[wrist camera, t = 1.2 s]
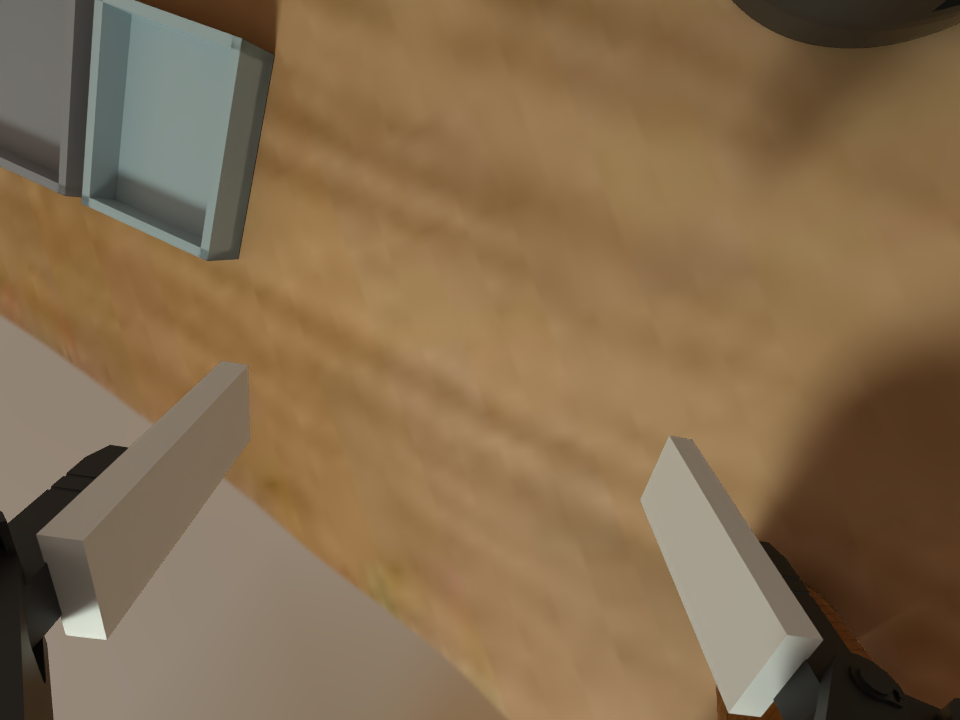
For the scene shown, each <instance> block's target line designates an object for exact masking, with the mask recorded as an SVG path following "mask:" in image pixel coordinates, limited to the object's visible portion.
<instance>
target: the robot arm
mask: <svg viewBox="0 0 960 720" xmlns="http://www.w3.org/2000/svg"><path fill="white" fill-rule="evenodd" d="M732 1H733V2H734V3H735V4H736V5H737V6H738V7H739V8H740V9H741V10H742V11H744V12H745V13H746V14H747V15H748V16H750V17H751V18H752V19H754V20H755V21H757V22H758V23H760V24H761V25H763V26H764V27H766V28H768V29H770V30H772V31H774V32H776V33H778V34H780V35H783V36H785V37H787V38H790V39H793V40H796V41H799V42H804V43H808V44H812V45H818V46H824V47H834V48H866V47H877V46H884V45H891V44H895V43H900V42H905V41H909V40H913V39H916V38H920V37H923V36H926V35H929V34H932V33H935V32H938V31H941V30H943V29H946V28H948V27H951V26H953V25H956V24H958V23H960V0H732ZM249 441H250V411H249V368H248V365H244V364H238V363H232V362H226V361H221V362H220V363H219V364H218V365H217V366H216V367H215V368H214V369H213V370H212V371H210V372H209V373H208V374H207V375H206V376H205V377H204V378H203V379H202V380H201V381H200V382H199V383H198V384H197V385H195V386H194V387H193V388H192V389H191V390H190V391H189V392H188V393H187V394H186V395H185V396H184V397H183V398H182V399H181V400H179V401H178V402H177V403H176V404H175V405H174V406H173V407H172V408H171V409H170V410H169V411H168V412H167V413H166V414H164V415H163V416H162V417H161V418H160V419H159V420H158V421H157V422H156V423H155V424H154V425H153V426H152V427H151V428H149V429H148V430H147V431H146V432H145V433H144V434H143V435H142V436H141V437H140V438H139V439H138V440H137V441H136V442H135V443H133V444H132V445H131V446H130V447H129V448H127V447H121V446H114V445H109V446H107V447H105V448H103V449H101V450H99V451H97V452H95V453H93V454H91V455H89V456H87V457H85V458H84V459H83V460H81V461H80V462H79V463H78V464H77V465H76V466H74V467H73V468H72V469H71V470H70V471H69V472H67V475H66V476H63V477H62V478H60V479H59V480H58V481H57V482H56V483H54V484H53V485H52V486H51V489H50V490H46V491H45V492H44V493H43V494H42V495H41V496H40V497H38V498H37V499H36V500H35V501H33V502H32V503H31V504H30V505H29V506H28V507H27V508H25V509H24V510H23V511H22V512H21V513H20V514H18V515H17V516H16V517H15V518H14V519H12V520H11V521H10V522H9V523H8V524H7V521H6V519H5V517H4V515H3V513H2V512H1V511H0V720H53V709H52V697H51V685H50V672H49V660H48V648H47V642H46V639H45V637H44V635H45V634H46V633H47V632H48V630H49V629H50V628H51V627H52V626H53V625H54V623H55V622H56V621H57V620H58V619H59V617H60V616H61V620H62V623H63V626H64V630H65V633H66V635H69V636H78V637H87V638H95V639H104V640H107V639H108V637H109V636H110V635H111V633H112V632H113V630H114V629H115V628H116V626H117V625H118V623H119V622H120V621H121V619H122V618H123V617H124V615H125V614H126V612H127V611H128V610H129V608H130V607H131V605H132V604H133V602H134V601H135V600H136V598H137V597H138V595H139V594H140V593H141V591H142V590H143V589H144V587H145V586H146V585H147V583H148V582H149V580H150V579H151V578H152V576H153V575H154V573H155V572H156V571H157V569H158V568H159V566H160V565H161V564H162V562H163V561H164V559H165V558H166V557H167V555H168V554H169V553H170V551H171V550H172V548H173V547H174V546H175V544H176V543H177V541H178V540H179V539H180V537H181V536H182V534H183V533H184V532H185V530H186V529H187V527H188V526H189V525H190V523H191V522H192V520H193V519H194V518H195V516H196V515H197V514H198V512H199V511H200V509H201V508H202V507H203V505H204V504H205V502H206V501H207V500H208V498H209V497H210V495H211V494H212V493H213V491H214V490H215V488H216V487H217V486H218V484H219V483H220V481H221V480H222V479H223V477H224V476H225V475H226V473H227V472H228V470H229V469H230V468H231V466H232V465H233V463H234V462H235V461H236V459H237V458H238V456H239V455H240V454H241V452H242V451H243V449H244V448H245V447H246V445H247V444H248V443H249ZM640 501H641V504H642V506H643V509H644V511H645V514H646V516H647V518H648V521H649V523H650V526H651V528H652V530H653V533H654V535H655V538H656V540H657V542H658V545H659V547H660V550H661V552H662V554H663V557H664V559H665V562H666V564H667V566H668V569H669V571H670V574H671V576H672V578H673V581H674V583H675V586H676V588H677V591H678V593H679V595H680V598H681V600H682V603H683V605H684V607H685V610H686V612H687V615H688V617H689V619H690V622H691V624H692V627H693V629H694V631H695V634H696V636H697V639H698V641H699V643H700V646H701V648H702V651H703V653H704V656H705V658H706V660H707V663H708V665H709V668H710V670H711V672H712V675H713V677H714V680H715V682H716V684H717V687H718V689H719V692H720V694H721V696H722V699H723V701H724V704H725V706H726V708H727V711H728V713H731V714H739V715H748V716H756V717H761V716H762V715H763V714H764V713H765V711H766V710H767V709H768V708H769V706H770V705H771V704H772V703H773V701H774V702H775V704H776V706H777V708H778V710H779V712H780V714H781V716H782V718H783V719H782V720H960V698H954V699H953V700H952V701H951V702H950V703H949V704H947V705H946V706H945V707H944V708H943V709H942V710H941V709H939V708H936V707H934V706H931V705H929V704H927V703H924V702H922V701H920V700H917V699H915V698H912V697H910V696H908V695H905V694H904V693H903V691H902V690H901V688H900V687H899V685H898V684H897V683H896V682H895V681H894V680H893V679H892V678H891V677H890V676H889V675H888V674H887V672H885V671H884V670H883V669H881V668H880V667H879V666H877V665H876V664H875V663H873V662H872V661H870V660H868V659H866V658H864V657H863V656H861V655H859V654H855V653H851V652H850V650H849V649H848V647H847V646H846V644H845V643H844V642H843V640H842V639H841V637H840V636H839V634H838V633H837V631H836V630H835V629H834V627H833V626H832V624H831V623H830V621H829V620H828V618H827V617H826V616H825V614H824V613H823V611H822V610H821V608H820V607H819V605H818V604H817V603H816V601H815V600H814V598H813V597H812V596H810V595H809V593H810V592H809V591H808V590H807V588H806V587H805V585H804V584H803V582H802V581H799V577H798V575H797V574H796V572H795V571H794V569H793V568H792V566H791V565H790V564H789V562H788V561H787V559H786V558H785V557H783V556H782V555H781V554H780V553H779V552H778V551H777V550H776V549H775V548H774V547H773V546H772V545H771V544H770V543H768V542H761V541H758V539H757V538H756V536H755V535H754V533H753V532H752V530H751V529H750V527H749V526H748V524H747V523H746V521H745V520H744V518H743V517H742V515H741V513H740V512H739V510H738V509H737V507H736V506H735V504H734V503H733V501H732V500H731V498H730V497H729V495H728V494H727V492H726V491H725V489H724V488H723V486H722V484H721V483H720V481H719V480H718V478H717V477H716V475H715V474H714V472H713V471H712V469H711V468H710V466H709V465H708V463H707V462H706V460H705V459H704V457H703V456H702V454H701V452H700V451H699V449H698V448H697V446H696V445H695V443H694V442H693V440H692V439H687V438H681V437H675V436H669V437H668V439H667V442H666V444H665V446H664V448H663V451H662V453H661V455H660V457H659V459H658V462H657V464H656V466H655V468H654V471H653V473H652V475H651V477H650V479H649V482H648V484H647V486H646V488H645V491H644V493H643V495H642V497H641V500H640Z"/></svg>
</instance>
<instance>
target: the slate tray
mask: <svg viewBox="0 0 960 720" xmlns="http://www.w3.org/2000/svg"><path fill="white" fill-rule="evenodd" d="M273 60H274V55H273V54H271V53H269V52H267V51H265V50H263V49H261V48H260V47H258V46H256V45H254V44H252V43H250V42H248V41H246V40H244V39H242V38H239V37H237V36H234V35H231V34H228V33H225V32H222V31H220V30H217V29H214V28H211V27H208V26H205V25H203V24H200V23H197V22H194V21H191V20H188V19H186V18H183V17H180V16H177V15H174V14H171V13H169V12H166V11H163V10H160V9H157V8H154V7H152V6H149V5H146V4H143V3H140V2H138V1H135V0H95V2H94V17H93V33H92V48H91V64H90V80H89V95H88V111H87V126H86V142H85V157H84V173H83V188H82V204H84V205H86V206H88V207H90V208H92V209H95V210H97V211H99V212H101V213H103V214H105V215H108V216H110V217H112V218H114V219H116V220H119V221H121V222H123V223H125V224H127V225H130V226H132V227H134V228H136V229H138V230H141V231H143V232H145V233H147V234H149V235H151V236H154V237H156V238H158V239H160V240H162V241H165V242H167V243H169V244H171V245H173V246H176V247H178V248H180V249H182V250H184V251H187V252H189V253H191V254H193V255H195V256H197V257H200V258H202V259H204V260H206V261H214V260H232V259H238V257H239V251H240V246H241V240H242V234H243V229H244V223H245V218H246V212H247V206H248V201H249V195H250V189H251V184H252V178H253V173H254V167H255V161H256V156H257V150H258V145H259V139H260V133H261V128H262V122H263V116H264V111H265V105H266V100H267V94H268V88H269V83H270V77H271V72H272V66H273Z"/></svg>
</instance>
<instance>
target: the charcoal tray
mask: <svg viewBox="0 0 960 720" xmlns="http://www.w3.org/2000/svg"><path fill="white" fill-rule="evenodd" d="M94 2H95V0H0V167H3V168H5V169H7V170H9V171H11V172H13V173H16V174H18V175H20V176H22V177H24V178H27V179H29V180H31V181H33V182H35V183H38V184H40V185H42V186H44V187H46V188H49V189H51V190H53V191H55V192H57V193H59V194H62V195H64V196H72V197H82V188H83V173H84V157H85V142H86V126H87V111H88V95H89V80H90V64H91V48H92V33H93V17H94Z"/></svg>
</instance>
